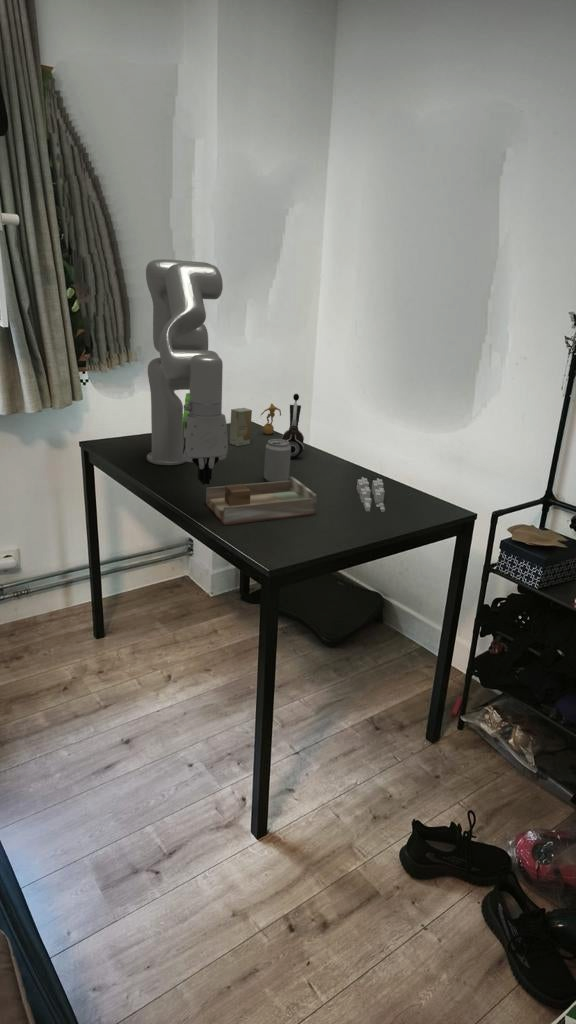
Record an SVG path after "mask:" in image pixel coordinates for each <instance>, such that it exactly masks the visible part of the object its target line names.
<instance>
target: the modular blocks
mask: <svg viewBox="0 0 576 1024" xmlns="http://www.w3.org/2000/svg"><path fill="white" fill-rule="evenodd" d="M356 483H357V485H356V490H357V494H358V495H359V499H360V501H361V504H362V503H363V507H364V509H365V512H371V508H372V502H373V500H372V498H371V492H372V496H373V499H374V503H375V507H376V508H379V509H380V513H381V512H382V513H385V511H386V508H385V504H384V499H385V489H384V482H383V479H382V478H381V479H380V478H378V477H377V478H376V480H372V484H371V489H370V486H369V485H370V483H369V481H368V478H365V477H364V476H361V478H360V479H357V482H356Z"/></svg>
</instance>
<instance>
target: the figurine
mask: <svg viewBox="0 0 576 1024" xmlns="http://www.w3.org/2000/svg"><path fill="white" fill-rule="evenodd" d="M269 405H270V406H269V407H268V408H265V410H263V412H261V413H260V417H261V416H262V415H264V413H265V412H267V411H269V413H267V416H266V421H267V423H266V424H264V425H263V427H262V431H263V433H264V434H265V435H271V434H272V433H273V432H274V431H275V430H274V425H273V422H274V419H273V418H274V417H275V415H276V414H275V411H278V412H279V416H280V417H281V416H282V413H281V412H282V411H281V409H280V408H278V407H277V406H275V405H274V404H273V403H271V404H269ZM269 418H270V419H269Z"/></svg>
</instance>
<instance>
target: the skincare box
mask: <svg viewBox="0 0 576 1024" xmlns="http://www.w3.org/2000/svg"><path fill="white" fill-rule="evenodd" d="M252 411H253V410H252V409H249V408H245V407H239V408H238V407H237V408H232V409H231V410H230V423H229V424H230V425H229V427H230V428H229V430H230V431H229V444H230V445H233V446H236V447H240V446H241V447H242V446H245V445H250V444H251V430H252V415H253V413H252Z"/></svg>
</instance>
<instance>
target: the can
mask: <svg viewBox="0 0 576 1024" xmlns="http://www.w3.org/2000/svg"><path fill="white" fill-rule="evenodd" d="M290 456H291V446H290V445H289V442H288V441H287V440H283V439H282V438H272V439H269V440H267V443H266V445H265V452H264V466H263V467H264V468H263V469H264V470H263V478H264V479H265V481H267V482H276V481H287V480H289V477H290V470H291V469H290V468H291V467H290V466H291V458H290Z"/></svg>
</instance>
